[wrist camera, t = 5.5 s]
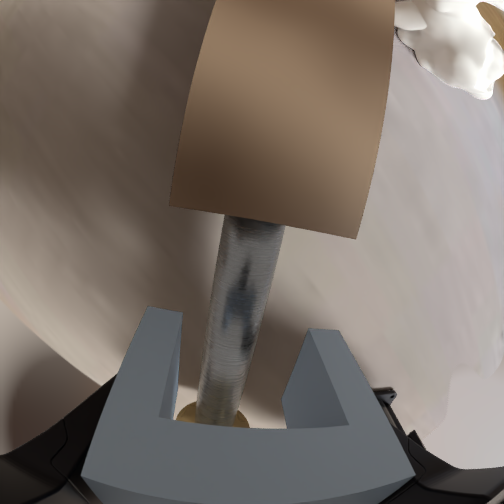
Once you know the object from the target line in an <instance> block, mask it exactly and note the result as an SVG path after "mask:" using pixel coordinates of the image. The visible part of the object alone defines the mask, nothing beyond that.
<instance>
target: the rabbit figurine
mask: <svg viewBox="0 0 504 504" xmlns="http://www.w3.org/2000/svg"><path fill="white" fill-rule="evenodd" d="M479 2H487V3H489V4H491V5H494V6H496V7H498V8H499V9H501V10H503V11H504V0H407V1H400V2H395V20H394V26H396V27H398V31H397V34H398V37H399V39H400V40H401V41H402V42H403V43H404V44H405V45H407V46H408V47H410V48H411V49H413V50H414V51H415V54H416V58H417V60H418V62H419V64H420V65H421V66H422V67H423V68H425V69H426V70H428V71H429V72H430V73H432V74H433V75H435V76H436V77H437V78H439V79H440V80H441V81H442V82H443V83H445V84H447V85H449V86H450V87H454V88H459V89H462V90H465V91H466V92H467V93H468V94H470V95H471V96H473V97H475V98H477V99H481V100H486V99H488V98H490V97H491V96H492V94H493V86H494V82H495V80H496V79H498V78H500V77H501V76H502V75H503V74H504V51H503V49H502V47H501V46H500V45H499V43H498V42H497V41H496V40H495V39H494V38H493V36H495V33H494V32H493V30H492V29H491V27H490V25H489V24H488V23H487V22H486V21H485V20H484V19H483V17H482V16H481V15H480V13H479V11H478V9H477V8H476V5H477V4H478V3H479Z"/></svg>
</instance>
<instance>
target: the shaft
mask: <svg viewBox="0 0 504 504" xmlns="http://www.w3.org/2000/svg"><path fill="white" fill-rule="evenodd" d="M284 230H285V225H281V224H275V223H270V222H264V221H259V220H253V219H247V218H242V217H236V216H230V215H225V216H224V221H223V227H222V233H221V238H220V244H219V250H218V256H217V262H216V268H215V275H214V281H213V287H212V294H211V300H210V307H209V313H208V320H207V327H206V334H205V342H204V349H203V356H202V364H201V372H200V380H199V388H198V396H197V401H196V402H193V403H191V404H189V405H187V406H185V407H184V408H183V409H182V410H181V411H180V412H179V414H178V416H177V418H176V420H177V421H184V422H190V423H198V424H206V425H215V426H226V427H239V428H250V427H249V424H248V421H247V419H246V418H245V416H244V415H243V414H242V413H241V412H240V411H239V410H238V407H239V403H240V400H241V396H242V393H243V389H244V385H245V382H246V378H247V375H248V371H249V367H250V364H251V360H252V356H253V353H254V349H255V345H256V341H257V338H258V334H259V330H260V326H261V322H262V319H263V315H264V311H265V307H266V303H267V299H268V295H269V291H270V287H271V283H272V279H273V275H274V271H275V267H276V263H277V259H278V255H279V251H280V247H281V242H282V238H283V234H284Z"/></svg>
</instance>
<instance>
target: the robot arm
mask: <svg viewBox="0 0 504 504" xmlns="http://www.w3.org/2000/svg"><path fill="white" fill-rule="evenodd" d="M117 374H118V373H117ZM117 374H116V375H115V376H114V377H112V378H111V379H110V380H109V381H108V382H106V383H105V384H104V385H103V386H101V387H100V388H99V389H98V390H96V391H95V392H94V393H93V394H92V395H90V396H89V397H88V398H87V399H85V400H84V401H83V402H82V403H80V404H79V405H78V406H77V407H76V408H74V409H73V410H72V411H71V412H69V413H68V414H67V415H66V416H65V417H64V418H63V419H60V420H59V421H58V422H57V423H55V424H54V425H53V426H52V427H50V428H49V429H47V430H46V431H45V432H43V433H41V434H40V435H38V436H37V437H35V438H33V439H32V440H30V441H28V442H27V443H25V444H23V445H21V446H20V447H18V448H16V449H14V450H13V451H11V452H9V453H6V454H3V455H0V504H103V503H102V502H101V501H100V500H99V498H98V497H97V496H96V495H95V494H94V492H93V491H92V490H91V489H90V487H89V486H88V485H87V483H86V482H85V481H84V479H83V478H82V477H81V473H82V469H83V466H84V463H85V460H86V457H87V454H88V451H89V448H90V445H91V442H92V439H93V436H94V433H95V431H96V428H97V425H98V422H99V420H100V417H101V414H102V412H103V409H104V406H105V404H106V401H107V399H108V396H109V393H110V391H111V388H112V386H113V384H114V381H115V379H116V376H117ZM373 393H374V394H375V396H376V398H377V400H378V402H379V404H380V406H381V407H382V409H383V411H384V413H385V415H386V417H387V419H388V421H389V423H390V425H391V426H392V428H393V430H394V432H395V434H396V436H397V438H398V440H399V442H400V444H401V446H402V448H403V450H404V452H405V454H406V456H407V458H408V460H409V462H410V464H411V466H412V468H413V470H414V472H415V474H416V475H415V476H414V477H413V478H411V479H410V480H409V481H408V482H406V483H405V484H404V485H403V486H401V487H400V488H399V489H398V490H396V491H395V492H394V493H392V494H391V495H389V496H388V497H387V498H385V499H384V500H382V501H381V502H380V503H378V504H504V467H496V468H485V469H468V470H467V469H466V470H465V469H459V468H456V467H453V466H451V465H450V464H448V463H446V462H445V461H443V460H441V459H439V458H438V457H436V456H434V455H433V454H431V453H430V452H428V451H427V450H426V448H425V446H424V445H423V443H422V441H421V439H420V438H419V436H418V435H417V433H416V431H415V430H413V431H412V432H410V433H409V435H407V436H406V434H405V432H404V430H403V428H402V426H401V425H400V423H399V421H398V419H397V417H396V415H395V414H394V412H393V410H392V408H391V406H390V404H391V403H392V401H393V400H394V399H395V397H396V396H397V393H396V392H395V391H394V390H392V391H383V392H373Z"/></svg>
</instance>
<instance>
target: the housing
mask: <svg viewBox="0 0 504 504" xmlns="http://www.w3.org/2000/svg"><path fill="white" fill-rule="evenodd" d="M394 20H395V0H216V2H215V5H214V8H213V11H212V14H211V17H210V20H209V23H208V26H207V29H206V33H205V36H204V39H203V43H202V46H201V50H200V53H199V57H198V60H197V64H196V68H195V72H194V76H193V80H192V84H191V88H190V92H189V96H188V101H187V105H186V110H185V114H184V119H183V124H182V129H181V134H180V139H179V145H178V150H177V156H176V161H175V167H174V174H173V180H172V187H171V194H170V201H169V206H174V207H181V208H187V209H194V210H200V211H206V212H212V213H218V214H224V215H230V216H236V217H242V218H247V219H253V220H259V221H264V222H270V223H275V224H281V225H286V226H291V227H296V228H302V229H307V230H312V231H317V232H322V233H327V234H332V235H337V236H342V237H347V238H351V239H356V238H357V234H358V231H359V227H360V224H361V220H362V216H363V212H364V209H365V205H366V201H367V197H368V193H369V189H370V185H371V180H372V176H373V172H374V167H375V163H376V158H377V153H378V148H379V143H380V138H381V132H382V127H383V121H384V115H385V109H386V102H387V95H388V88H389V80H390V72H391V62H392V51H393V38H394Z"/></svg>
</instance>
